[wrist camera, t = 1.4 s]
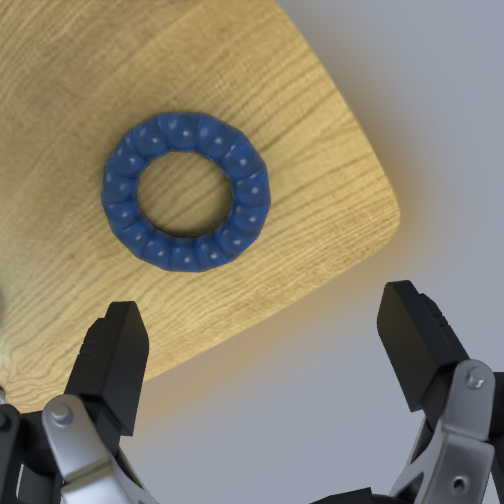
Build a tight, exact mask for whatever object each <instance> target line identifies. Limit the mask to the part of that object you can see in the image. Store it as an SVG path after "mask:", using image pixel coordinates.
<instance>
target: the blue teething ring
mask: <svg viewBox="0 0 504 504" xmlns="http://www.w3.org/2000/svg"><path fill="white" fill-rule="evenodd" d="M170 152H194V153H196V154H198V155H201V156H203V157H205V158H207V159H209V160H211V161H213V162H215V163H216V164H217V166H218V167H219V168H220V170H221V171H222V172H223V173H224V175H225V176H226V177H227V179H228V180H229V184H230V189H231V194H232V203H231V206H230V209H229V213H228V216H227V218H226V219H225V220H224V221H223V222H222V223H221V224H220V225H219V226H218V227H217V228H216V229H215V230H214V231H212V232H210V233H207V234H204V235H202V236H199V237H197V238H186V237H174V236H171V235H169V234H167V233H165V232H163V231H161V230H158V229H156V228H155V227H154V226H153V225H152V223H151V222H150V221H149V220H148V219H147V218H146V217H145V216H144V215H143V213H142V210H141V207H140V204H139V201H138V198H137V190H138V184H139V178H140V176H141V174H142V173H143V172H144V171H145V169H146V168H147V167H148V165H149V164H150V163H151V161H153V160H155V159H157V158H159V157H161V156H164V155H166V154H168V153H170ZM101 201H102V205H103V208H104V211H105V214H106V216H107V219H108V222H109V225H110V227H111V230H112V232H113V234H114V235H115V236H116V237H117V238H118V239H119V240H120V241H121V242H122V243H123V244H124V245H125V246H126V247H127V249H128V250H129V251H130V252H131V253H132V254H133V255H134V256H136V257H137V258H139V259H141V260H143V261H145V262H147V263H150V264H152V265H154V266H156V267H159V268H161V269H163V270H166V271H172V272H195V273H200V272H205V271H207V270H210V269H213V268H216V267H219V266H222V265H224V264H227V263H230V262H232V261H234V260H235V259H236V258H237V257H239V256H240V255H241V254H242V253H243V252H244V251H245V250H246V249H247V248H248V247H249V246H250V245H251V244H252V243H253V242H254V241H255V240H256V239H257V238H258V237H259V235H260V233H261V230H262V227H263V225H264V222H265V219H266V217H267V214H268V211H269V208H270V205H271V195H270V188H269V181H268V173H267V167H266V164H265V162H264V161H263V159H262V158H261V157H260V155H259V154H258V152H257V151H256V150H255V148H254V147H253V145H252V144H251V143H250V141H249V140H248V138H247V137H246V136H245V135H244V134H243V132H241V131H240V130H238V129H236V128H234V127H232V126H231V125H229V124H227V123H225V122H223V121H221V120H219V119H217V118H215V117H213V116H211V115H209V114H206V113H187V112H175V113H162V114H160V115H158V116H156V117H154V118H152V119H150V120H148V121H146V122H144V123H142V124H140V125H138V126H136V127H134V128H132V129H131V130H129V131H128V132H127V133H126V134H125V135H124V136H123V138H122V139H121V140H120V142H119V143H118V145H117V146H116V148H115V149H114V151H113V152H112V154H111V155H110V157H109V158H108V160H107V161H106V164H105V167H104V175H103V183H102V192H101Z"/></svg>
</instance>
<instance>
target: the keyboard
mask: <svg viewBox="0 0 504 504" xmlns="http://www.w3.org/2000/svg"><path fill="white" fill-rule="evenodd" d="M1 404H5V393H4V392H3V391H2V390H0V405H1Z"/></svg>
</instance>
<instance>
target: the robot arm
mask: <svg viewBox="0 0 504 504" xmlns="http://www.w3.org/2000/svg"><path fill="white" fill-rule="evenodd" d="M377 330H378V333H379V336H380V338H381V341H382V343H383V345H384V347H385V350H386V352H387V354H388V357H389V359H390V362H391V364H392V366H393V368H394V371H395V373H396V376H397V378H398V381H399V383H400V386H401V388H402V391H403V393H404V396H405V398H406V401H407V403H408V406H409V409H410V411H411V412H415V411H418V410H422V409H423V411H424V413H425V417H424V418H423V420H422V423H421V426H420V429H419V432H418V435H417V437H416V440H415V443H414V445H413V448H412V451H411V453H410V456H409V458H408V461H407V463H406V465H405V467H404V469H403V471H402V473H401V474H400V476H399V477H398V479H397V480H396V482H395V484H394V486H393V487H392V490H391V491H390V493H389V496H387V495H379V494H372V492H371V487H368V488H364V489H360V490H355V491H351V492H346V493H341V494H336V495H330V496H328V497H326V498H323V499H321V500H318V501H316V502H313V503H310V504H482V501H483V497H484V494H485V490H486V487H487V483H488V479H489V475H490V471H491V473H492V476H493V480H494V483H495V487H496V490H497V494H498V498H499V501H500V504H504V372H492V370H491V369H490V368H489V367H488V366H487V365H486V364H485V363H483V362H481V361H479V360H475V359H470V358H469V356H468V354H467V353H466V351H465V349H464V348H463V346H462V344H461V343H460V341H459V339H458V338H457V336H456V335H455V333H454V331H453V330H452V328H451V326H450V325H448V322H447V320H446V319H445V317H444V316H442V312H441V311H440V310H439V308H438V306H437V305H436V303H435V302H434V301H432V300H431V299H430V298H429V297H427V296H426V295H425V294H423V293H422V294H419V293H418V292H417V290H416V288H415V287H414V286H413V284H412V283H411V281H409V280H403V281H394V282H388V283H387V284H386V285H385V288H384V292H383V296H382V300H381V304H380V308H379V312H378V316H377ZM83 342H84V344H82V346H81V349H80V351H79V353H80V354H78V356H77V359H76V361H75V364H74V367H73V369H72V372H71V375H70V377H69V380H68V383H67V386H66V389H65V391H64V394H61V395H58V396H56V397H54V398H52V399H51V400H50V401H49V402H48V403H47V404H46V406H45V407H44V409H43V410H42V411H36V412H30V413H23V414H21V413H20V412H19V411H18V410H17V409H16V408H15V407H14V406H13V405H11V404H1V405H0V504H60V501H61V496H62V498H63V500H64V502H65V504H159V503H158V502H157V501H156V500H155V498H154V497H153V496H152V495H151V494H150V493H149V491H148V490H147V489H146V487H145V486H144V484H143V483H142V481H141V480H140V478H139V477H138V475H137V474H136V472H135V471H134V469H133V467H132V466H131V464H130V463H129V461H128V459H127V458H126V456H125V454H124V453H123V451H122V449H121V448H120V446H119V441H120V436H121V435H122V436H133V430H134V424H135V419H136V413H137V408H138V403H139V397H140V392H141V387H142V382H143V377H144V373H145V368H146V363H147V358H148V354H149V338H148V334H147V331H146V329H145V326H144V323H143V321H142V318H141V315H140V312H139V310H138V307H137V304H136V303H135V302H134V301H122V302H112V303H111V304H110V305H109V308H108V310H107V313H106V315H105V318H98V319H97V320H96V321H95V322H94V323H93V325H92V326H91V327H90V328H89V329H88V331H87V334H86V336H85V339H84V341H83ZM21 464H23V465H24V467H23V472H22V477H21V482H20V487H19V493H18V499H17V496H16V489H17V483H18V478H19V473H20V468H21ZM63 480H64V484H63Z"/></svg>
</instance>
